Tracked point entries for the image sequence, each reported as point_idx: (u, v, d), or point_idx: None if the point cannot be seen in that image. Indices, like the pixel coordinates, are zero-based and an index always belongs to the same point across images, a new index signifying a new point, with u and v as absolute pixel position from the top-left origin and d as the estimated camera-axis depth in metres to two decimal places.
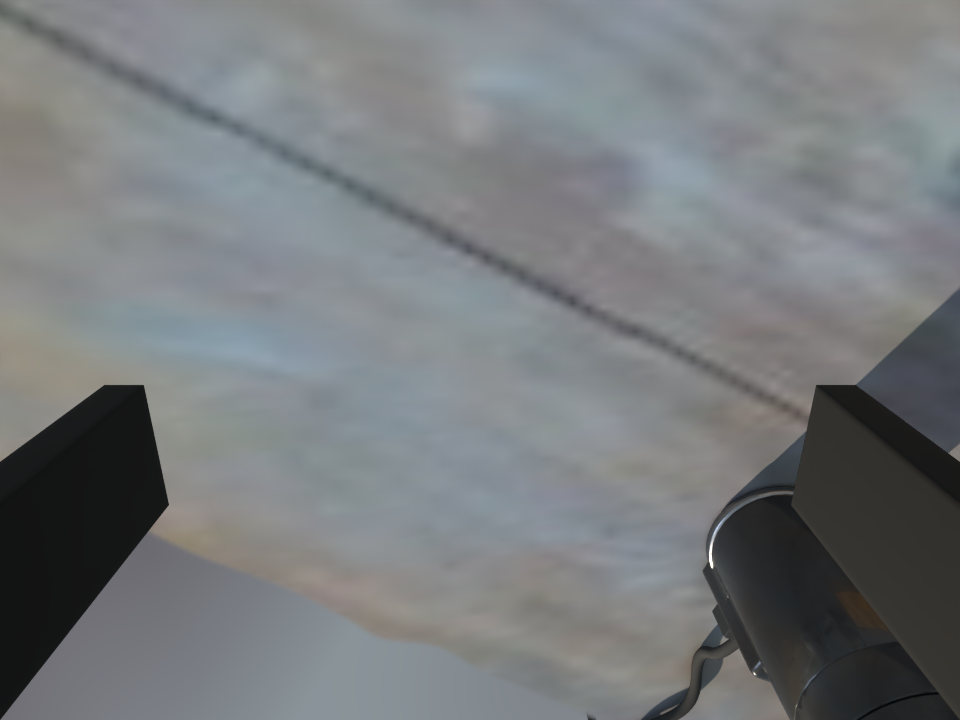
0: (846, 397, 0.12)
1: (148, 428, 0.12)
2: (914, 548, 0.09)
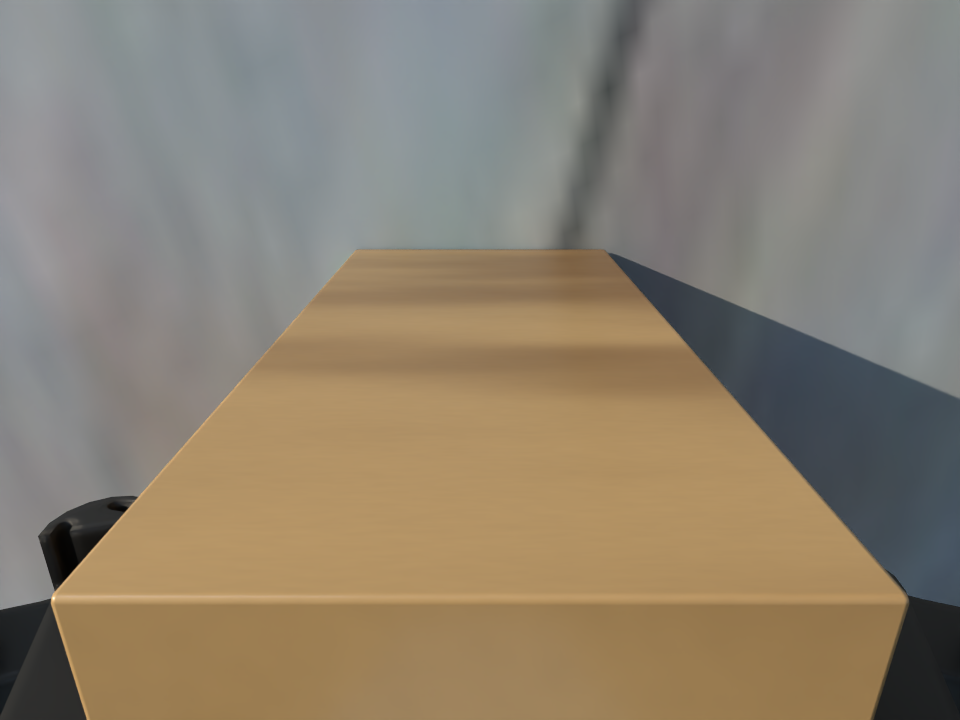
0: None
1: None
2: None
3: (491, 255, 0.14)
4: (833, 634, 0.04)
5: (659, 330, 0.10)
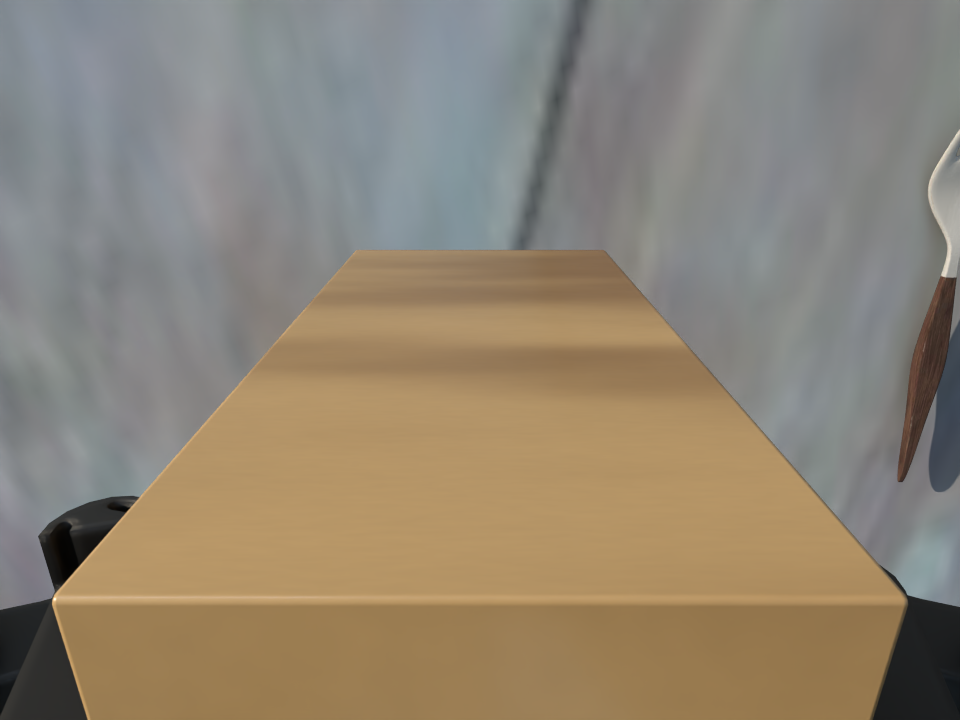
0: None
1: None
2: None
3: (491, 255, 0.14)
4: (835, 634, 0.04)
5: (659, 331, 0.10)
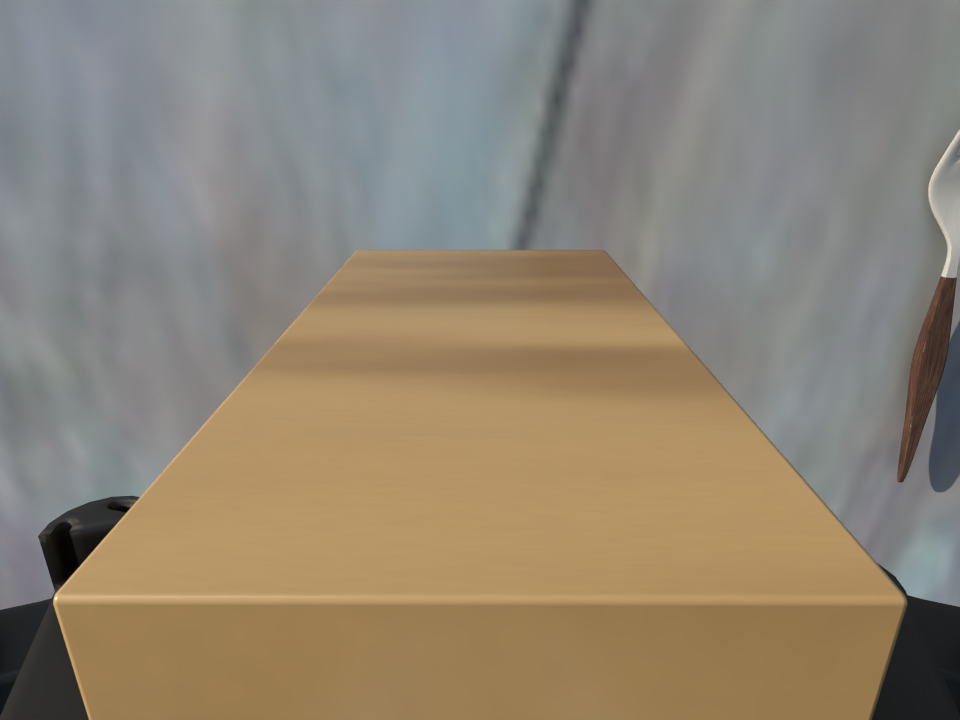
0: None
1: None
2: None
3: (492, 256, 0.14)
4: (834, 636, 0.04)
5: (659, 331, 0.10)
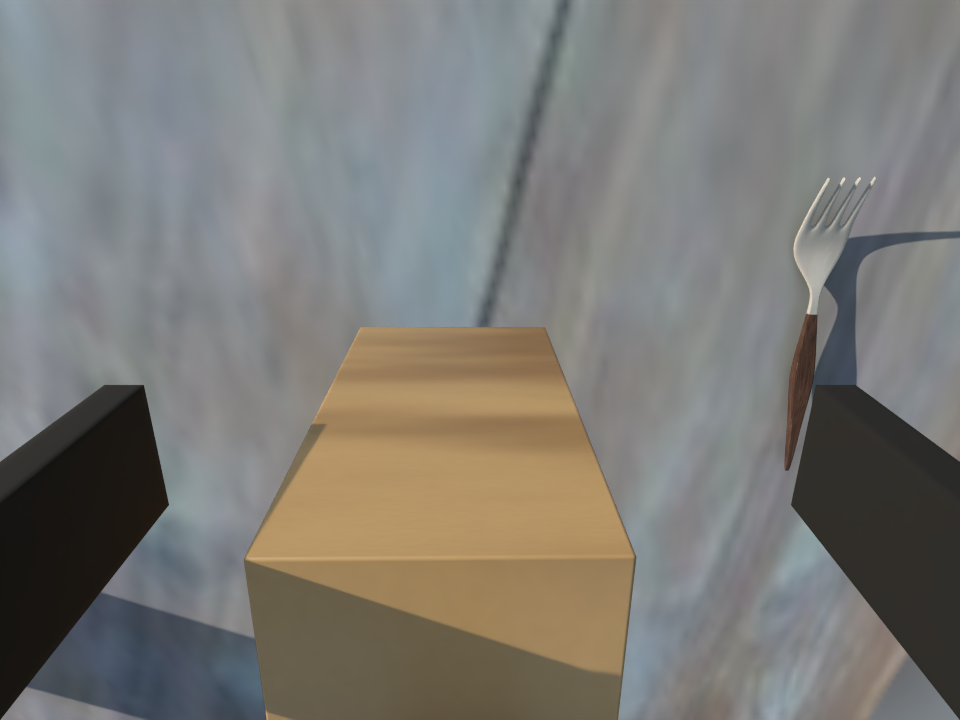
0: (846, 397, 0.12)
1: (148, 428, 0.12)
2: (914, 548, 0.09)
3: (461, 333, 0.20)
4: (604, 573, 0.10)
5: (564, 403, 0.15)
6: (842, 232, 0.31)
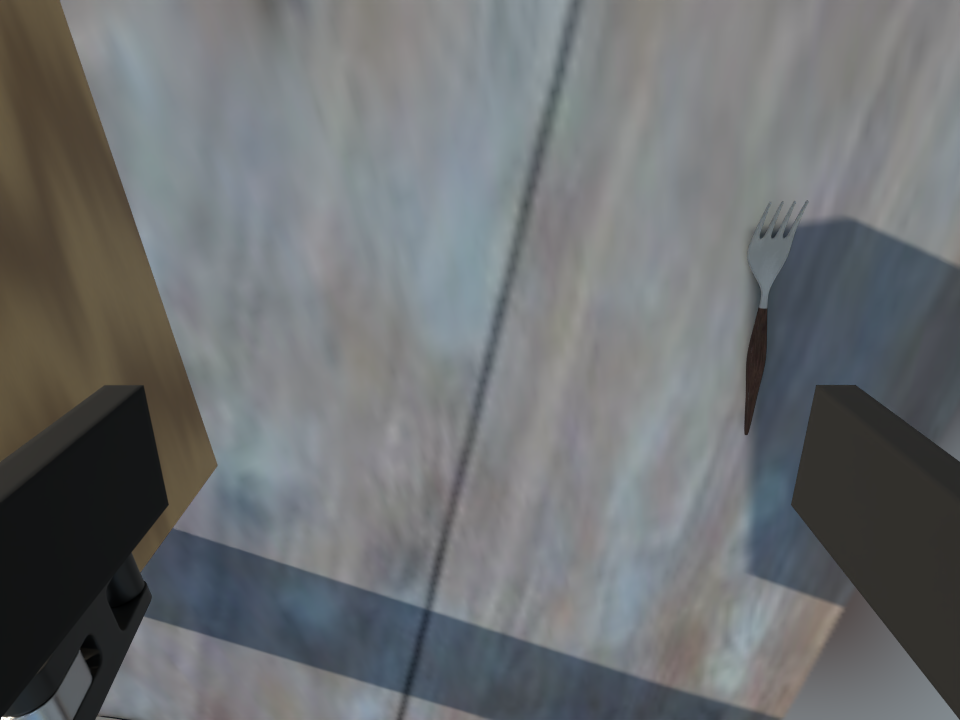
0: (846, 397, 0.12)
1: (148, 428, 0.12)
2: (914, 548, 0.09)
3: None
4: None
5: None
6: (785, 242, 0.39)
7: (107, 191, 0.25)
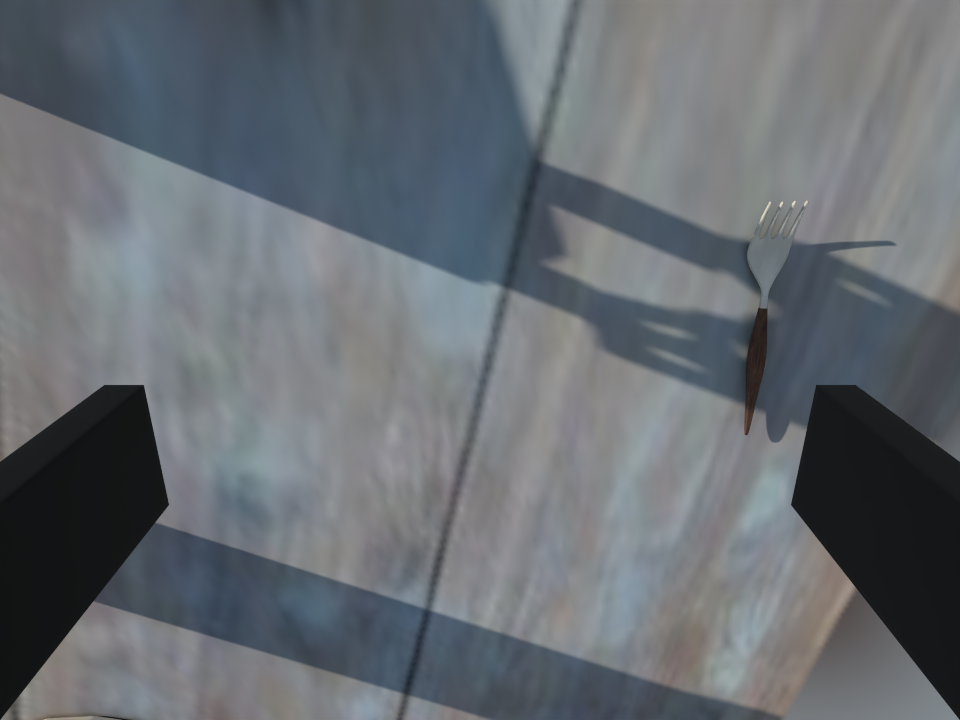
0: (846, 397, 0.12)
1: (148, 428, 0.12)
2: (914, 548, 0.09)
3: None
4: None
5: None
6: (785, 242, 0.39)
7: None
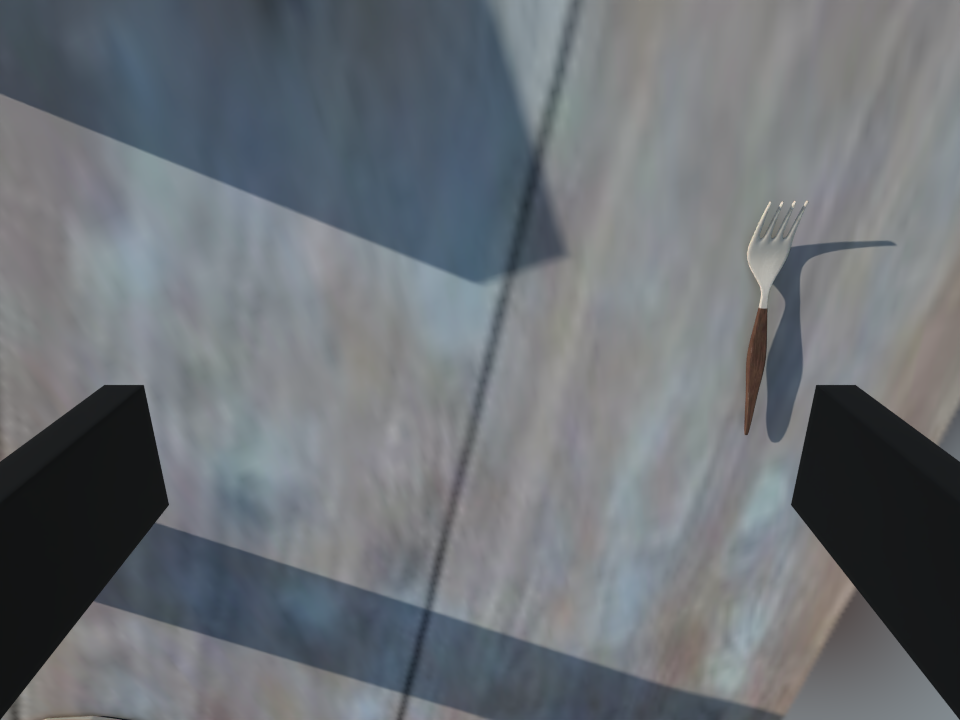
0: (846, 397, 0.12)
1: (148, 428, 0.12)
2: (914, 548, 0.09)
3: None
4: None
5: None
6: (785, 242, 0.39)
7: None
